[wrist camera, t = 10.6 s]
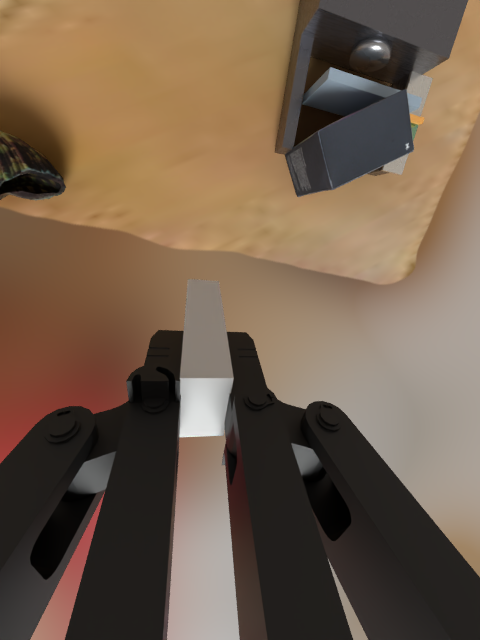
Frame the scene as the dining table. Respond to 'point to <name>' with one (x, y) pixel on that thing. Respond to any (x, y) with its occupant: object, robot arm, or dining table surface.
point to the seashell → (26, 171)
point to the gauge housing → (370, 50)
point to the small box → (352, 146)
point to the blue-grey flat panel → (351, 94)
